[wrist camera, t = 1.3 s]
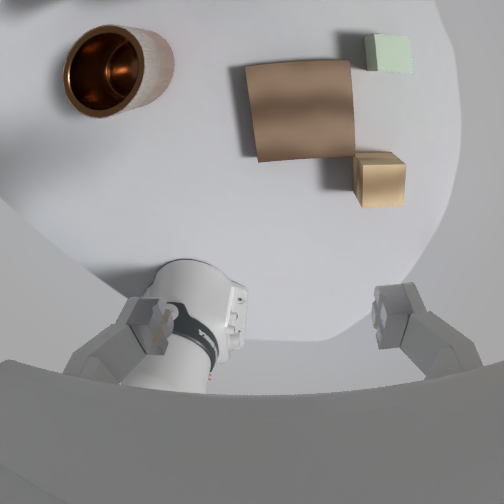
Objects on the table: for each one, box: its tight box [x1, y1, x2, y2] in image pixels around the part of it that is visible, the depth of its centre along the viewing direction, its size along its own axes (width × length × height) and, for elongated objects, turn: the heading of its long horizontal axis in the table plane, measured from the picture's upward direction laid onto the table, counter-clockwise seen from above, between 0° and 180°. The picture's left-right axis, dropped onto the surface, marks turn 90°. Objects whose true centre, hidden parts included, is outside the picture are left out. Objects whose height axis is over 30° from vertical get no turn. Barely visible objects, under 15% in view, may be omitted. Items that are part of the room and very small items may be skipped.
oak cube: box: [353, 152, 406, 208], centre depth 36 cm, size 6×6×6 cm
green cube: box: [364, 34, 414, 74], centre depth 28 cm, size 4×4×4 cm
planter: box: [63, 25, 174, 118], centre depth 29 cm, size 11×11×10 cm
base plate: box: [245, 60, 355, 163], centre depth 34 cm, size 12×12×2 cm
